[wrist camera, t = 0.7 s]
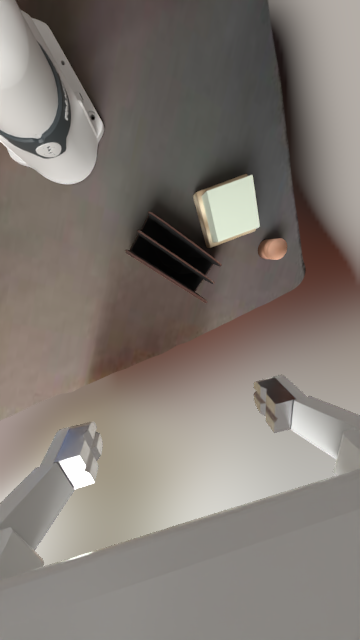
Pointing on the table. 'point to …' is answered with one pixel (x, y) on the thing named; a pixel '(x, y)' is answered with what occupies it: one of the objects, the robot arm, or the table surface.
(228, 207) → the sage top block
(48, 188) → the table surface
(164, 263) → the letter holder
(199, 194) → the maple base block
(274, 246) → the tan rounded cylinder
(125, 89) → the table surface
